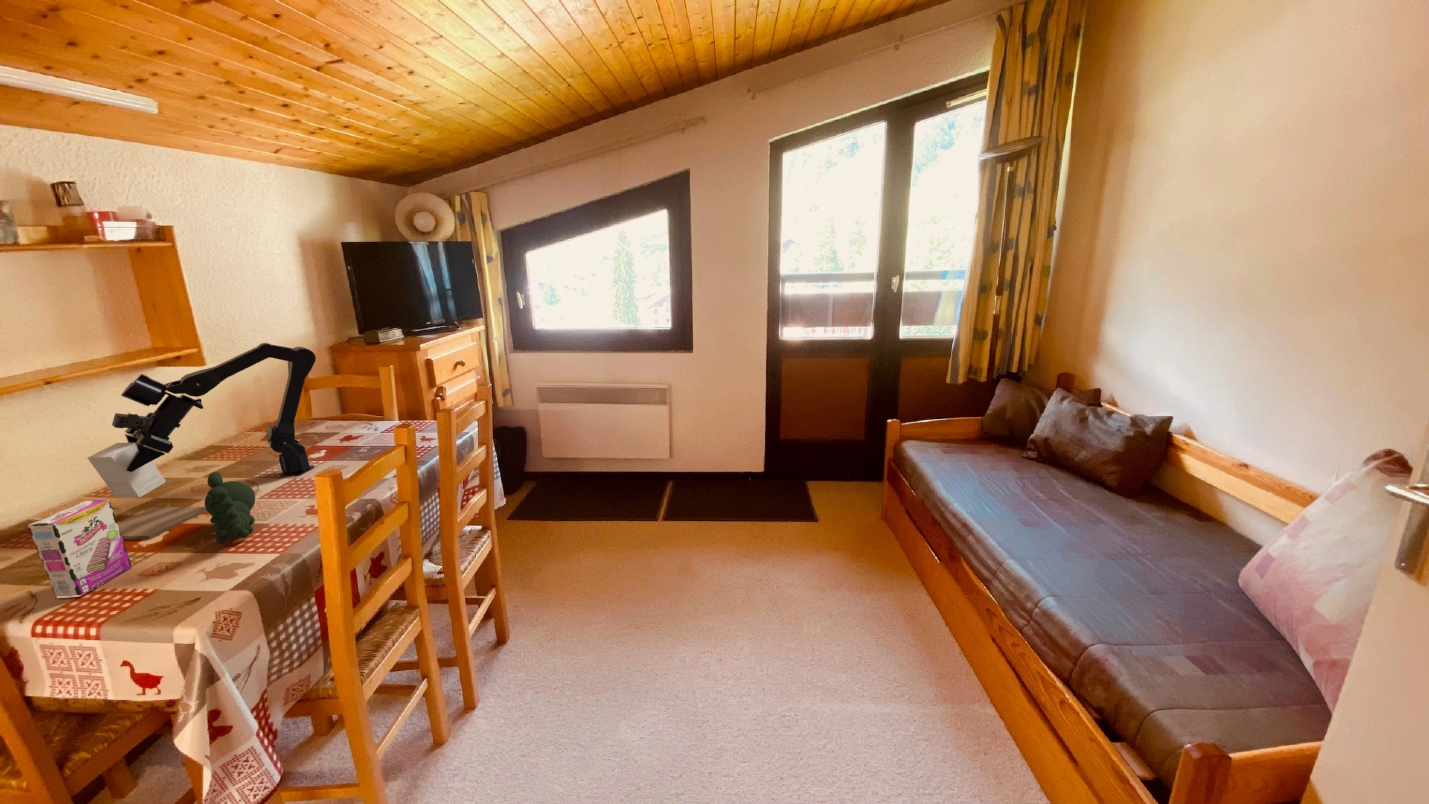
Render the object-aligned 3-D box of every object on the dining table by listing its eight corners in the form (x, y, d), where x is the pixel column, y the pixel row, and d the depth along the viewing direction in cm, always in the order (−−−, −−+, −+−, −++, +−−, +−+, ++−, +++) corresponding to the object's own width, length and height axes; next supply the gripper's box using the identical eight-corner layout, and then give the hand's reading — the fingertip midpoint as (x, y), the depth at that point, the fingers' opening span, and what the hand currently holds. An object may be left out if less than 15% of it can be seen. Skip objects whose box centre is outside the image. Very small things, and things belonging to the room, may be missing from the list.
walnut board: (207, 510, 145) (206, 506, 145) (149, 539, 130) (148, 535, 130) (153, 511, 145) (152, 507, 145) (89, 540, 131) (88, 536, 131)
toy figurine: (262, 548, 128) (261, 504, 146) (240, 476, 121) (241, 439, 140) (209, 563, 122) (214, 515, 140) (182, 489, 116) (192, 448, 134)
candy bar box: (83, 598, 108) (52, 523, 104) (55, 600, 108) (24, 525, 103) (135, 566, 119) (110, 498, 114) (111, 568, 119) (84, 499, 114)
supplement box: (167, 481, 147) (141, 441, 141) (138, 498, 140) (110, 457, 134) (144, 481, 148) (117, 441, 142) (115, 498, 141) (85, 457, 135)
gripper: (124, 395, 145) (78, 447, 140) (139, 405, 135) (90, 461, 129) (173, 415, 154) (132, 465, 148) (191, 425, 143) (147, 479, 138)
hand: (125, 467), depth 141 cm, fingers closed on supplement box, 9 cm apart
